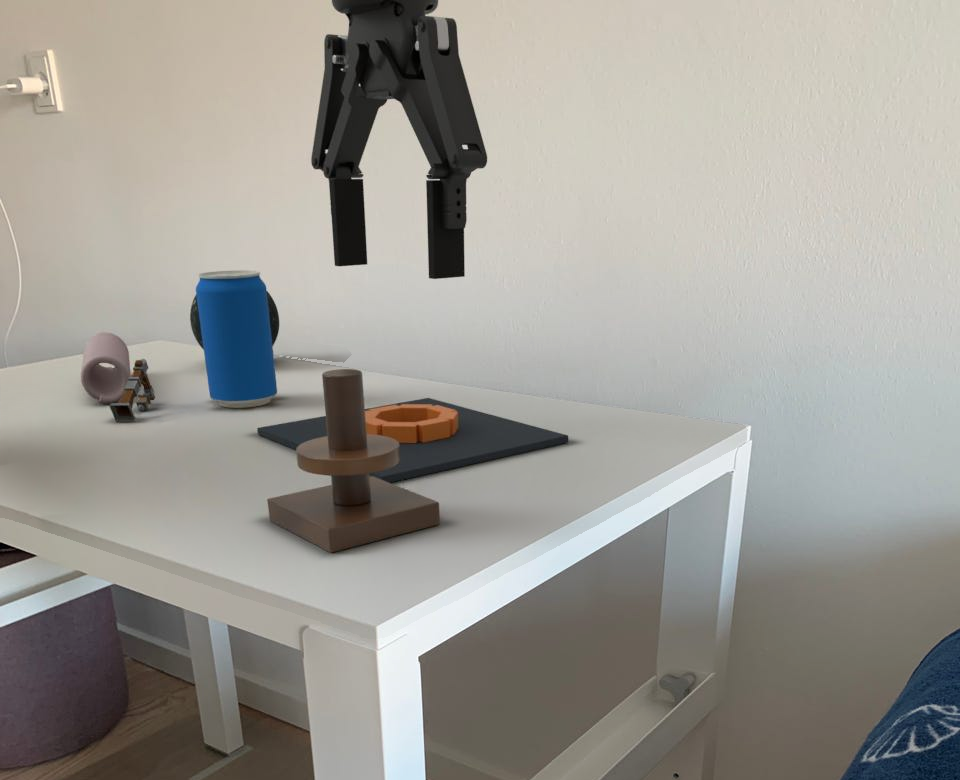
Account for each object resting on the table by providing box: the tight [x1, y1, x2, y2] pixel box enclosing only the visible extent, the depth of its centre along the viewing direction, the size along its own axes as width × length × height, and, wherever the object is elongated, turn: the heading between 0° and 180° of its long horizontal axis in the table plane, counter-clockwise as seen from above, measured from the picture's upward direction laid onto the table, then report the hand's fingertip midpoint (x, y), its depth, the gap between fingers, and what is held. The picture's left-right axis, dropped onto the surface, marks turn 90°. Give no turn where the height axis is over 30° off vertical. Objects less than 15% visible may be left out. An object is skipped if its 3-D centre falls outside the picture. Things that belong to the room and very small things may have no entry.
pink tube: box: [80, 331, 132, 405], centre depth 106 cm, size 5×5×18 cm
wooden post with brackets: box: [108, 358, 156, 422], centre depth 95 cm, size 2×8×4 cm, turn 177°
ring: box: [365, 404, 458, 443], centre depth 84 cm, size 8×8×1 cm
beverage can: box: [195, 269, 278, 409], centre depth 96 cm, size 6×6×12 cm
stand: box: [267, 368, 441, 554], centre depth 62 cm, size 8×8×10 cm
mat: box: [256, 397, 569, 484], centre depth 84 cm, size 20×18×1 cm
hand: (396, 271), depth 78 cm, fingers open, 13 cm apart
